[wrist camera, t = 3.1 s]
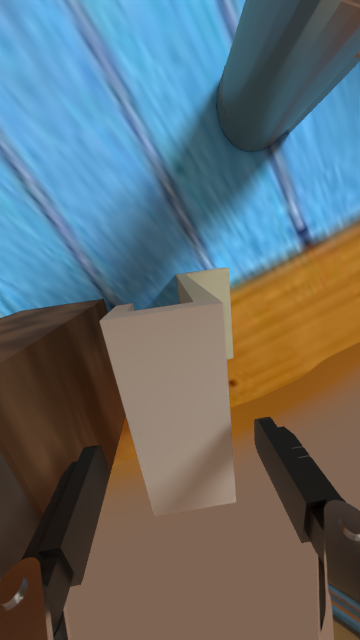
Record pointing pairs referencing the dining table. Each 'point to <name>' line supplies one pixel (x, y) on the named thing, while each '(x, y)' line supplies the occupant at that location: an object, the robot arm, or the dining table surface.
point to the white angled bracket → (178, 391)
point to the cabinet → (50, 410)
